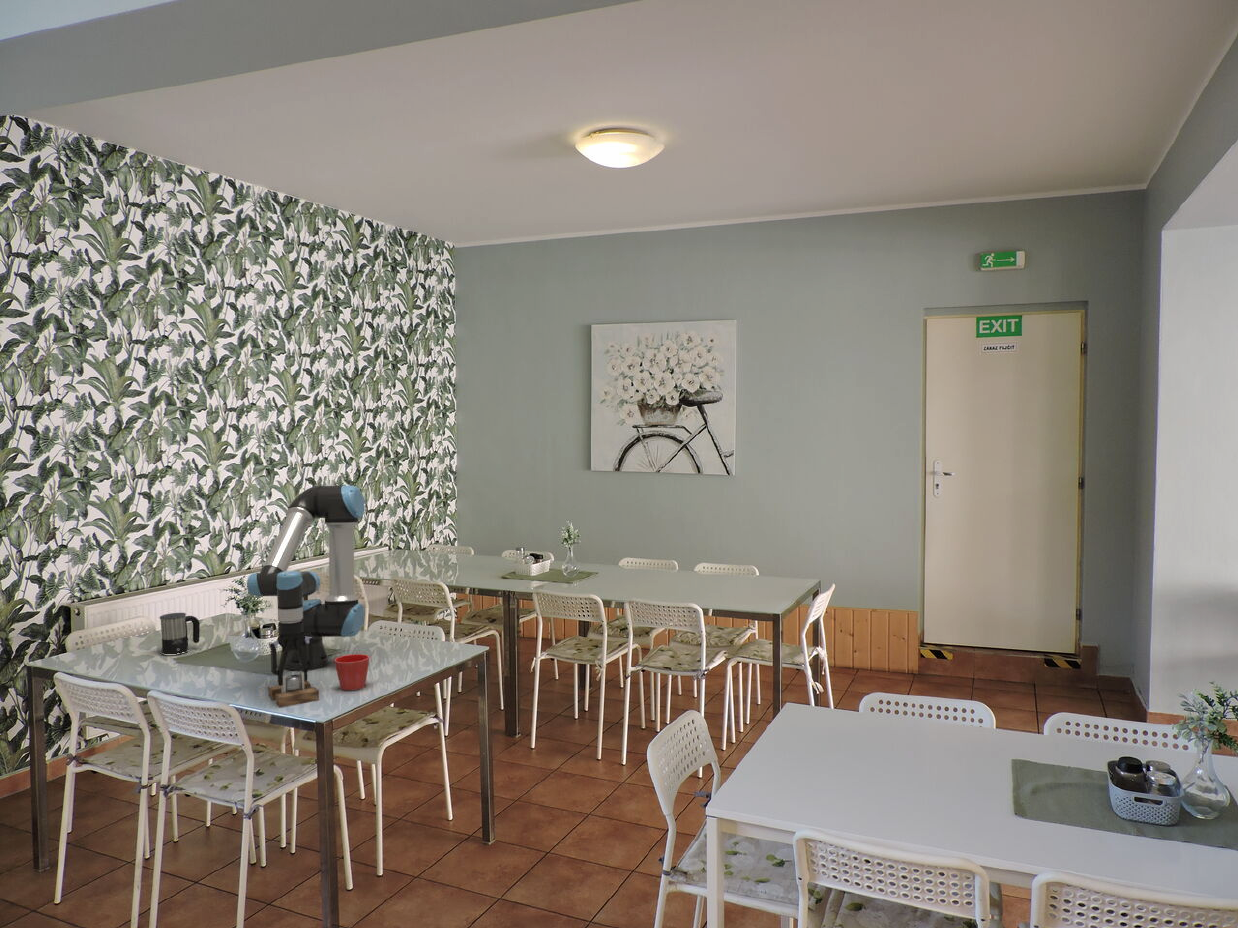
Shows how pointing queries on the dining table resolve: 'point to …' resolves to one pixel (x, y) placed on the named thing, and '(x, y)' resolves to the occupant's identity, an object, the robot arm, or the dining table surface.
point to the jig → (293, 695)
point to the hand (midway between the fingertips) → (293, 693)
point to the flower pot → (352, 671)
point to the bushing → (293, 683)
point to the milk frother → (177, 632)
